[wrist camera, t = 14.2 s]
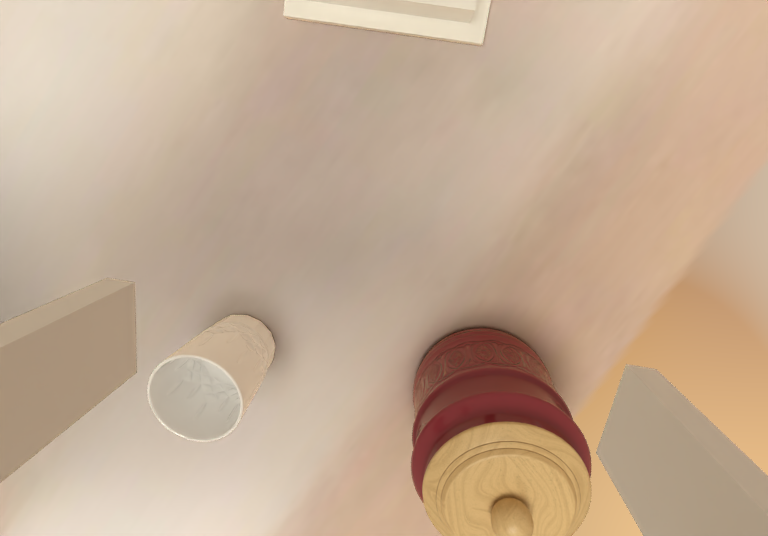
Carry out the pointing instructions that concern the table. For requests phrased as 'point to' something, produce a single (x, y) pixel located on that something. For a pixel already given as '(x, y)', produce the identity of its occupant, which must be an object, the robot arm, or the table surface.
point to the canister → (496, 441)
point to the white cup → (211, 379)
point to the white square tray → (400, 17)
